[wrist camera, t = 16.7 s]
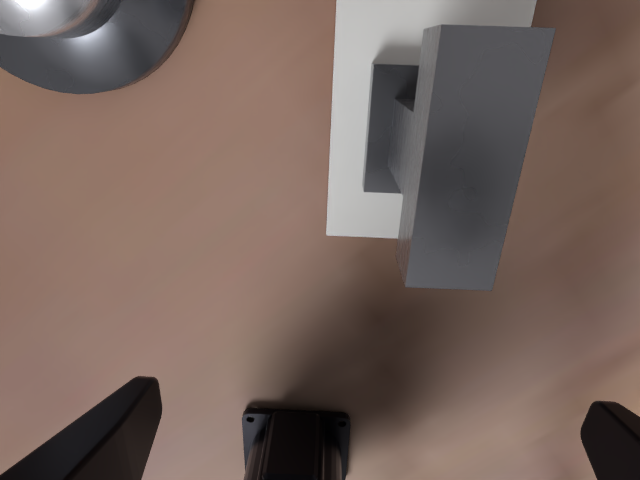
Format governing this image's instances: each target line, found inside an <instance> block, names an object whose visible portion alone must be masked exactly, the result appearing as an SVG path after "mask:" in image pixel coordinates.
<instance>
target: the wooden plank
mask: <svg viewBox="0 0 640 480" xmlns="http://www.w3.org/2000/svg"><path fill="white" fill-rule="evenodd" d="M121 1H122V0H0V34H5V35H11V36H25V37H44V38H62V39H66V38H77V37H81V36H85V35H87V34H90V33H92V32H94V31H96V30H97V29H99V28H101V27H102V26H103V25H104V24H105V23H106V22H108V21H109V20H110V18H111V17H112V16H113V15H114V13H115V12H116V10H117V9H118V7H119V5H120V4H121Z"/></svg>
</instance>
